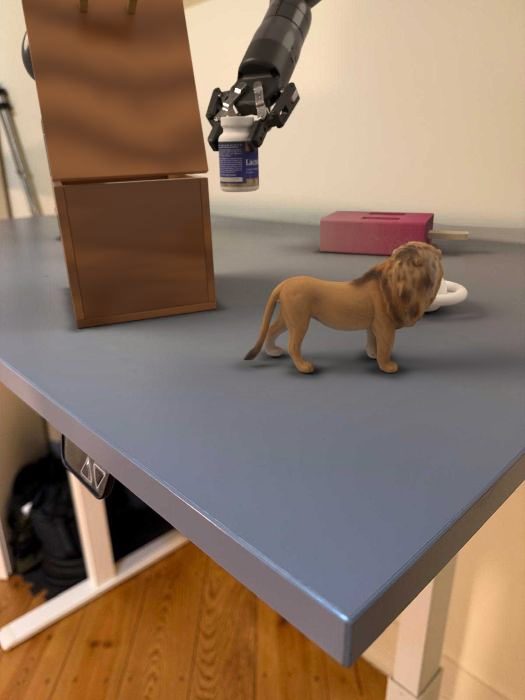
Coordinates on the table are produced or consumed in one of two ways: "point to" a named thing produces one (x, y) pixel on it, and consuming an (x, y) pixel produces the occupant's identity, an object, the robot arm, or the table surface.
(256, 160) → the pill bottle
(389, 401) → the table surface
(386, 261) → the lion figurine
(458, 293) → the white curved piece
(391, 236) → the popsicle
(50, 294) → the table surface
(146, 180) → the chest
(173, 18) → the lid
